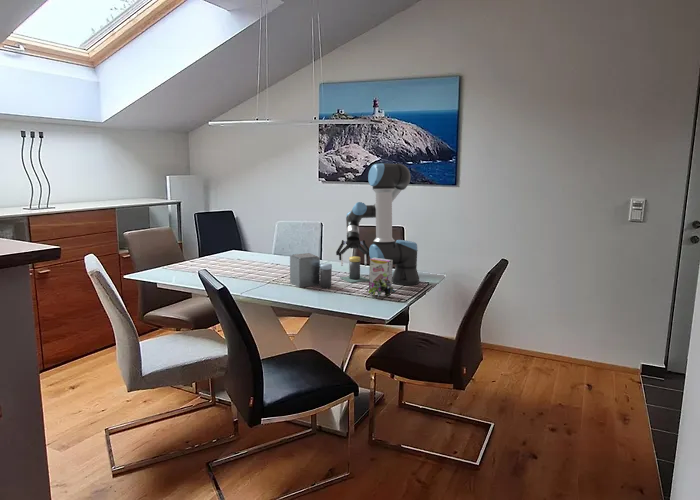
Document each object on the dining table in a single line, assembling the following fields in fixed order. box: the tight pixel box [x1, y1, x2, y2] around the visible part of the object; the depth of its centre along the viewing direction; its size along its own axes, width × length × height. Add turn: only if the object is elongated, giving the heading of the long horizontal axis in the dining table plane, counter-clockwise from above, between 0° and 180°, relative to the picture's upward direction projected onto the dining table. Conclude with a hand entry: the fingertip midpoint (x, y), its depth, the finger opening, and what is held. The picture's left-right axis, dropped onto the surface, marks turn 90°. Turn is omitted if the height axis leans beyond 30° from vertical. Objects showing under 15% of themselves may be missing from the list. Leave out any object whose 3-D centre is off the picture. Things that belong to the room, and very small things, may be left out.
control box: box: [289, 252, 321, 288], centre depth 278 cm, size 12×12×16 cm
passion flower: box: [366, 279, 396, 299], centre depth 254 cm, size 11×11×12 cm
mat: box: [339, 275, 369, 284], centre depth 290 cm, size 12×12×1 cm
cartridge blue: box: [319, 263, 333, 289], centre depth 272 cm, size 6×6×12 cm
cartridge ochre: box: [348, 255, 361, 280], centre depth 289 cm, size 6×6×12 cm
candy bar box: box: [368, 258, 393, 292], centre depth 267 cm, size 11×5×16 cm, turn 59°
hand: (353, 264), depth 296 cm, fingers open, 13 cm apart
